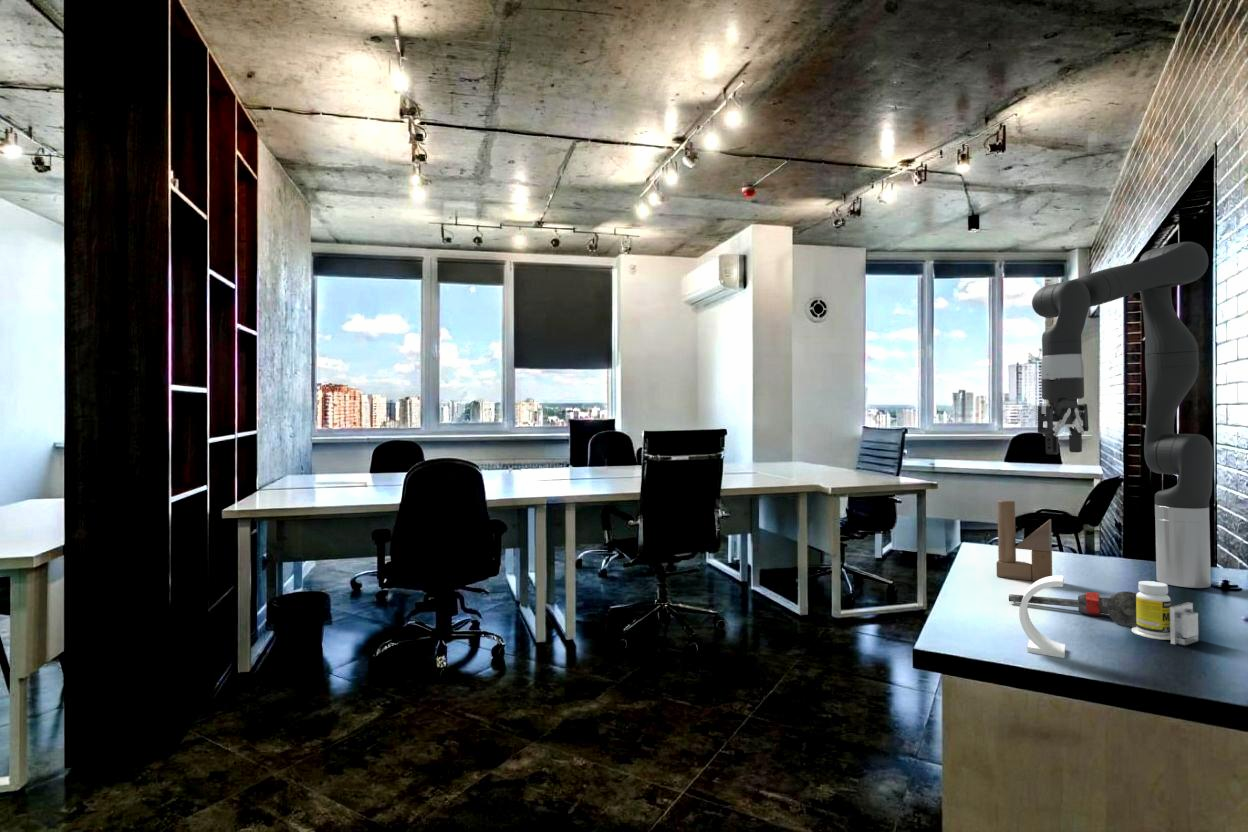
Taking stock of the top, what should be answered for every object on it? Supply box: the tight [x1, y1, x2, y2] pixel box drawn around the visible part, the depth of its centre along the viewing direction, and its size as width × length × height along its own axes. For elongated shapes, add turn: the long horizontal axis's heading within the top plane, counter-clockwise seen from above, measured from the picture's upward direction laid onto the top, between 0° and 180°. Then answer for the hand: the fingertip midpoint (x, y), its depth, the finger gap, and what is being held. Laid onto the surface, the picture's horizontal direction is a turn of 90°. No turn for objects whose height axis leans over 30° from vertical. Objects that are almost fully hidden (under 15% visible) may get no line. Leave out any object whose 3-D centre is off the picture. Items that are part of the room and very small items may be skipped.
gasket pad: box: [1131, 627, 1171, 641], centre depth 114 cm, size 6×6×1 cm
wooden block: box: [995, 499, 1053, 583], centre depth 154 cm, size 4×11×18 cm, turn 50°
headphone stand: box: [1018, 574, 1066, 659], centre depth 108 cm, size 5×6×12 cm
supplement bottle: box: [1136, 580, 1172, 636], centre depth 114 cm, size 5×5×8 cm
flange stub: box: [1170, 601, 1199, 646], centre depth 110 cm, size 6×2×6 cm, turn 117°
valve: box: [1008, 590, 1173, 628], centre depth 129 cm, size 6×26×15 cm
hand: (1064, 453), depth 140 cm, fingers open, 8 cm apart
